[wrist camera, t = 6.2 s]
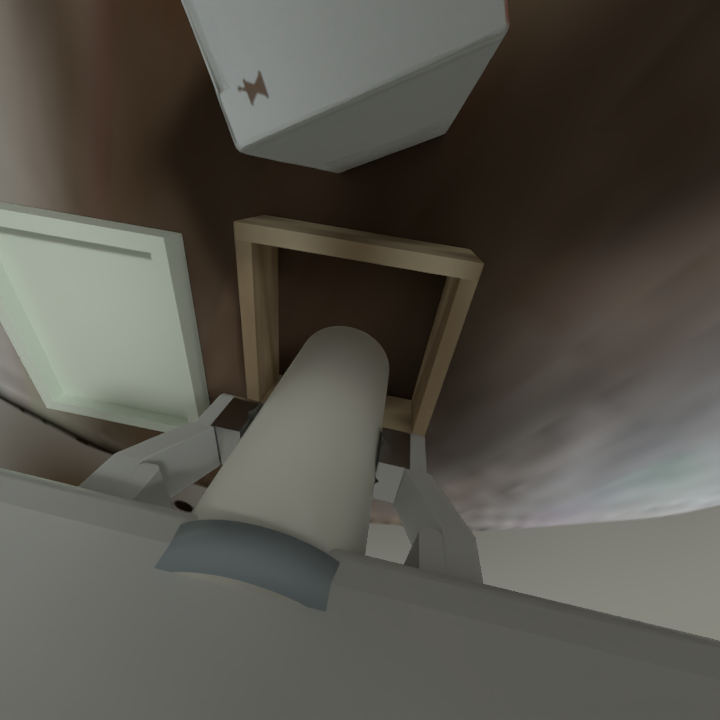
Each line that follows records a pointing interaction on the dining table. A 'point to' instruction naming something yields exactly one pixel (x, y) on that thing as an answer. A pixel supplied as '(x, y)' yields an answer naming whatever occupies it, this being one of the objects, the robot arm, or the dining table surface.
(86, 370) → the tray
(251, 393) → the open wooden frame
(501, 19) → the small box
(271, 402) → the canister
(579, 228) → the dining table surface
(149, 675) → the robot arm
